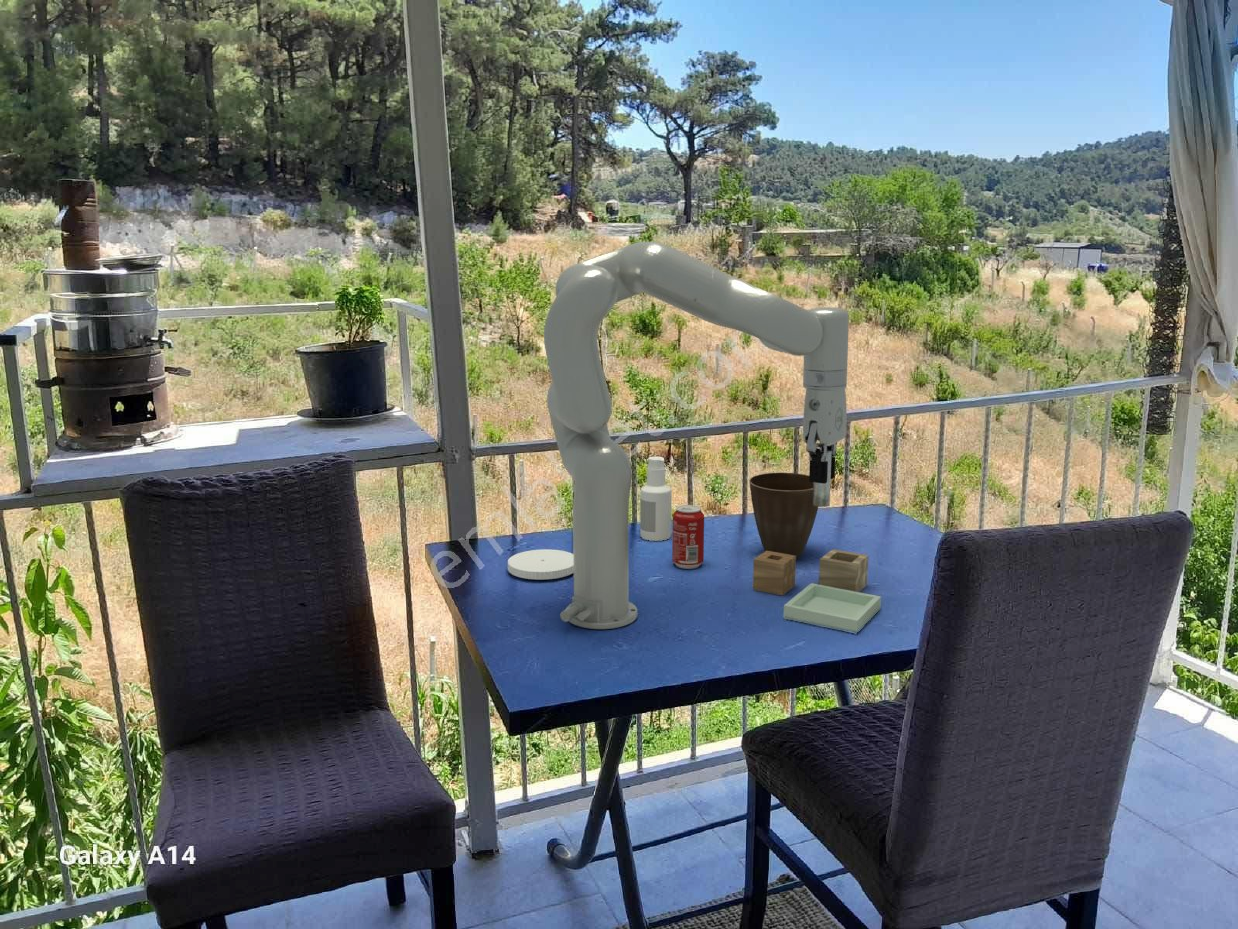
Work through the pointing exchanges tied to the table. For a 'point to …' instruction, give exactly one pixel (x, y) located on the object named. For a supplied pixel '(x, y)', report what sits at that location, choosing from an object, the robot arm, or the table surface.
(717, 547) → the table surface
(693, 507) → the beverage can
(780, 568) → the block
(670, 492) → the spray bottle
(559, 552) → the plastic lid
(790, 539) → the plant pot
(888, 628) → the table surface
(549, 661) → the table surface
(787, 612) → the tray
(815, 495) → the cylinder
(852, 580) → the go block
